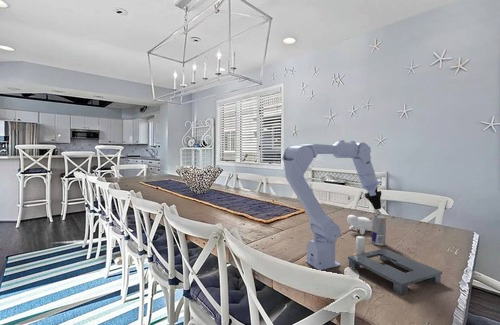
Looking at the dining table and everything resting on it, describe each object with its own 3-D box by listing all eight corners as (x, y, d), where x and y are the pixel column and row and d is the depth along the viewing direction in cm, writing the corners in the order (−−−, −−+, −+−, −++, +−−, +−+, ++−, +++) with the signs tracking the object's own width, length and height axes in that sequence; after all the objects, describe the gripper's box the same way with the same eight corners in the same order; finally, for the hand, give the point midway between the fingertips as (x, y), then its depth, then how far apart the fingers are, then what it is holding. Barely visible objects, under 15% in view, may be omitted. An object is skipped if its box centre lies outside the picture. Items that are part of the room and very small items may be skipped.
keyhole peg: (360, 262, 93) (361, 240, 93) (350, 257, 98) (350, 236, 97) (370, 260, 95) (371, 238, 95) (359, 254, 100) (360, 234, 99)
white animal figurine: (360, 233, 134) (339, 226, 129) (365, 217, 135) (344, 209, 129) (374, 238, 127) (352, 231, 121) (379, 222, 127) (358, 213, 122)
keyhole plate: (401, 296, 72) (402, 284, 71) (347, 266, 90) (348, 256, 90) (441, 282, 79) (442, 271, 79) (384, 257, 97) (384, 248, 97)
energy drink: (373, 240, 115) (373, 214, 114) (386, 243, 112) (387, 216, 111) (369, 244, 111) (370, 216, 110) (383, 247, 107) (384, 218, 107)
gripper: (380, 176, 88) (391, 210, 91) (374, 162, 101) (385, 193, 104) (358, 182, 91) (370, 215, 94) (356, 168, 104) (366, 197, 107)
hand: (376, 204), depth 99 cm, fingers open, 7 cm apart
